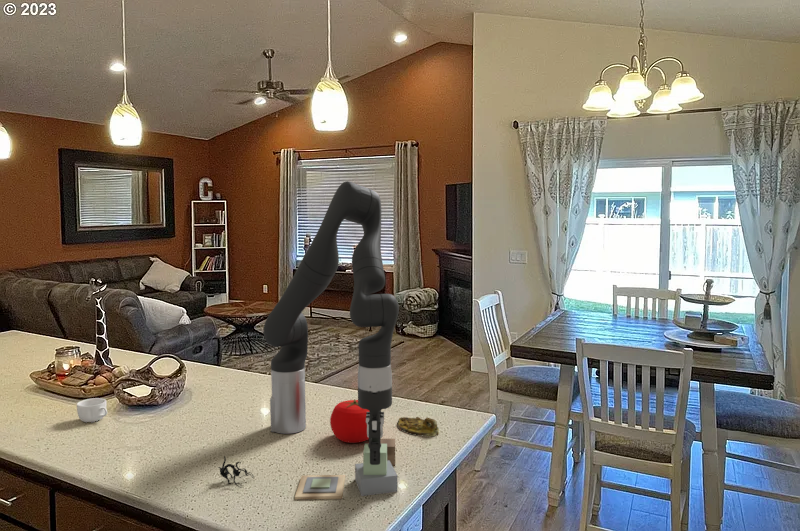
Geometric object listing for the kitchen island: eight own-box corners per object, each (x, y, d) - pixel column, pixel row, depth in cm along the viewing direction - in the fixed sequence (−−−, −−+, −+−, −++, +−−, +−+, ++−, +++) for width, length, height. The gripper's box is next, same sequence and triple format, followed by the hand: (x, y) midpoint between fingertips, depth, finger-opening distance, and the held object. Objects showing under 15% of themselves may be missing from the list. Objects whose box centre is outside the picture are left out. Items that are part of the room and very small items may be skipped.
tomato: (321, 436, 159) (320, 398, 158) (360, 425, 167) (360, 389, 166) (349, 453, 148) (348, 413, 147) (390, 441, 156) (390, 402, 155)
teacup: (71, 422, 170) (70, 404, 170) (94, 414, 177) (93, 396, 177) (95, 427, 166) (94, 409, 166) (118, 418, 173) (117, 400, 173)
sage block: (363, 474, 128) (363, 452, 127) (365, 465, 133) (364, 443, 132) (386, 474, 128) (386, 452, 127) (387, 464, 133) (387, 443, 132)
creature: (255, 477, 138) (221, 471, 137) (259, 455, 137) (225, 449, 136) (249, 493, 130) (213, 486, 129) (254, 470, 129) (218, 463, 129)
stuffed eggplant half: (387, 430, 167) (427, 444, 157) (386, 414, 166) (426, 427, 156) (409, 418, 173) (449, 430, 163) (408, 403, 173) (448, 414, 162)
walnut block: (374, 467, 140) (374, 446, 140) (374, 458, 145) (374, 438, 145) (395, 466, 140) (395, 446, 140) (395, 458, 145) (395, 438, 145)
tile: (294, 499, 124) (294, 494, 124) (301, 477, 134) (301, 472, 134) (342, 498, 125) (342, 493, 125) (345, 477, 135) (345, 472, 134)
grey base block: (361, 497, 126) (361, 479, 126) (355, 480, 134) (355, 463, 133) (397, 493, 128) (397, 475, 127) (389, 477, 136) (389, 460, 135)
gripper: (359, 375, 136) (360, 443, 137) (356, 394, 121) (356, 470, 123) (391, 375, 136) (392, 442, 137) (392, 394, 122) (392, 469, 123)
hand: (375, 455), depth 130 cm, fingers open, 8 cm apart
